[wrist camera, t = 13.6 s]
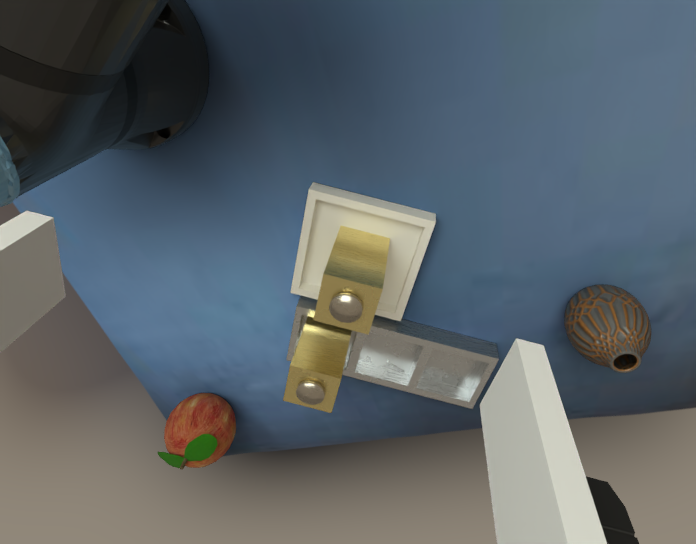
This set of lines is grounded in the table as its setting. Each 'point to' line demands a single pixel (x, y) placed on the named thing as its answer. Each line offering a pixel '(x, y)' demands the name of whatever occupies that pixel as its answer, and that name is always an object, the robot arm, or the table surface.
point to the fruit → (199, 431)
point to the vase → (608, 327)
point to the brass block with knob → (317, 365)
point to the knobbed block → (353, 280)
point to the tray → (369, 216)
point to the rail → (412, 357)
